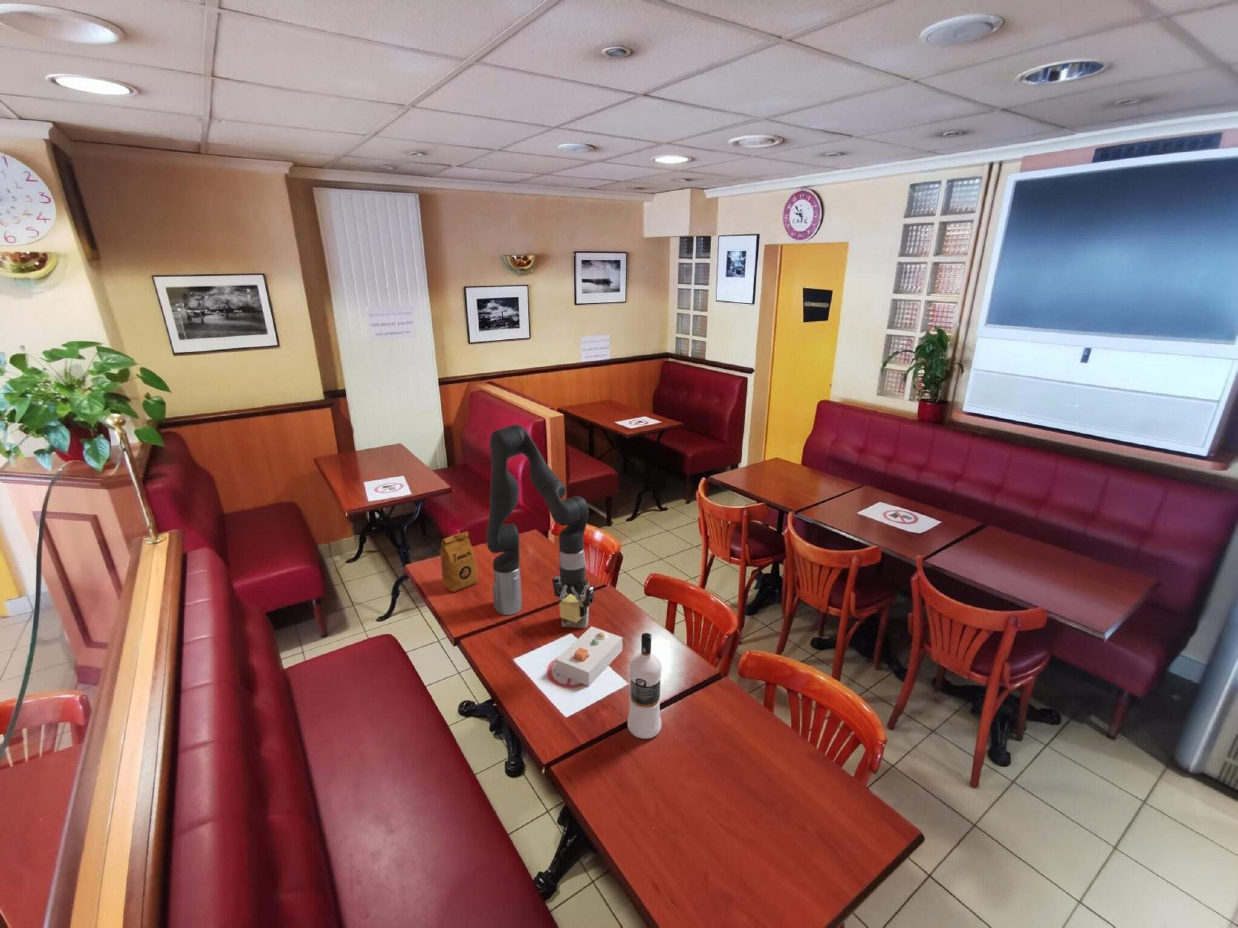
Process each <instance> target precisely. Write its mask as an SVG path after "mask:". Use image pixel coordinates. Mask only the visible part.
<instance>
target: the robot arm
mask: <svg viewBox="0 0 1238 928" xmlns="http://www.w3.org/2000/svg"><path fill="white" fill-rule="evenodd" d="M489 445H490V446H489V449H490V450H489V451H490V464H491V465H490V468H491V470H490V471H491V472H490V473H491V476H490V490H489V491H490V492H489V515H488V522H487V528H486V539H485V540H486V546H487V549H488V551H489V552H491V554H499V553H500V554H499V555H497V556H496V557H495V558H494V559H493V561H492V562H493V563H492V569H493V579H494V582H493V583H494V584H493V585H492V597H493V609H494V610H496V612H497V613H498V614H500V615H501V616H502V615H503V616H509V615H511V616H512V615H515V614H518V613H519V612H520V611H521V610H522V608H523V604H522V603H523V602H522V585H521V572H520V571H521V567H520V533H519V529H518V527H517V526H516V524H515V523H506V524H504V522H505V521H506V520H507V518H508V517H509V516H510V515H511V514H512V513H513V511H514V510H515V508H517V505H518V502H519V495H520V494H519V492H520V487H519V486H520V485H519V482H518V480H517V479H516V477H515V476H514V475H513V474H512V473H511V472H510V471H509V469H508V461H509V459H510V458H512V457H515V456H518V455H521V454H523V455H524V456H525V457H526V458H527V459H528V462H529V476H530V480H531V484H532V485H533V486H534V487H533V488H535V490H536V491H537V493H539V494H540V496H541V497H542V498H543V499H544V501H545V504H546V506H547V507H548V510H549V513H550V515H551V517H552V519H553V521H554V522H555V523H556V524H557V525H559V526H562V527H563V526H565V527H564V528H563V529H561V531H560V532H559V535H558V536H559V537H558V543H559V544H558V545H559V555H558V563H559V575H556V576H555V577H553V578H552V579H551V582H552V587H553V593H554V596H555V597H557V598H559V600H560V602H561V601H562V600H563V599H564V598H566V597H567V596H568V594H572V595H574V596H575V598H576V600H578V602H579V604H580V617H584V616H585V615H586V614H587V607H588V606H589V607H590V606H591V604H593V603H594V595H595V586H593V585H591V586H590V585H589V586H587V585H586V583H585V580H586V579H585V578H586V554H585V549H584V548H585V547H584V546H585V544H584V535H585V531H586V529H587V527H586V526H587V523H588V520H589V511H590V510H589V505H588V503H587V501H586V499H585V498H583V497H582V496H579V495H575V496H572V497H568V498H566V499H563V498H564V496H565V495H566V493H567V488H566V486H565V484H564V483H563V482H562V481H561V479H560V478H559V477H558V476H557V475H556V474H555V472H554V471H553V470H552V469H551V468H550V466H549V465H548V464H547V462H546V461H545V459H544V457H543V456H542V453H541V452H540V449H538V447H537V445H536V444H535V442H534V441H533V438H532V437H531V435H530V434H529V433H528V431H527V430H526V429H525V428H524V427H523V426H522V425H521V424H513V425H510V426H505V427H502V428H498V429H497V430H494V431H493V432H492V433H491V434H490V438H489ZM562 499H563V500H562ZM562 586H563V590H562ZM584 589H585V591H584ZM580 593H581V595H580V596H579V594H580ZM582 599H583V601H582Z"/></svg>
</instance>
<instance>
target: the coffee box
mask: <svg viewBox="0 0 1238 928" xmlns="http://www.w3.org/2000/svg"><path fill="white" fill-rule="evenodd" d="M585 583H586V585H587V586H589V587H590V579H585ZM562 590H563V586H562ZM584 591H585V589H584ZM568 595H570V594H568ZM580 595H581V593H580V594H579V596H580ZM589 607H590V605H589V606H588V613H587V614H586V615H585V616H584V617H583V618H581V619H580V620H579V621H578V622H577V623H576V622H573V621H570V620H567V619H564V618H561V627H564V628H576V629H577V628H578V629H587V627H588V624H589V620H590V618H589V617H590V612H589V610H590V609H589Z"/></svg>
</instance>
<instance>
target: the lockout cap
mask: <svg viewBox="0 0 1238 928" xmlns="http://www.w3.org/2000/svg"><path fill="white" fill-rule="evenodd" d="M582 601H583V599H582ZM558 603H559V617H560V618H561V619H562V618H564V619H567V620H570V621H573V622H576V623H577V622H578V621H579V620H580V619H581V618H583V617H580V604H579V602H578V600H576V598H575V596H574V595H572V594H570V595H568V596H567V597H566V598H564V599H563V600H562V601H561V600H560V602H558ZM587 613H588V607H587Z"/></svg>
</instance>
